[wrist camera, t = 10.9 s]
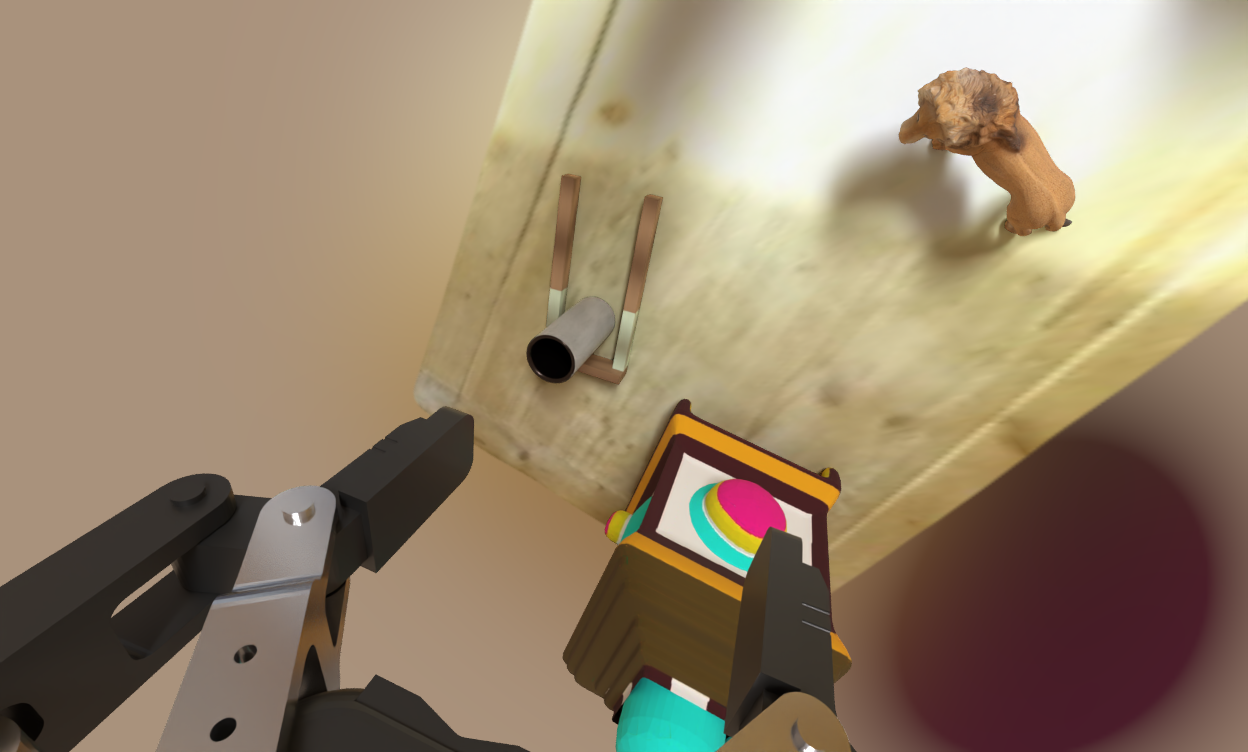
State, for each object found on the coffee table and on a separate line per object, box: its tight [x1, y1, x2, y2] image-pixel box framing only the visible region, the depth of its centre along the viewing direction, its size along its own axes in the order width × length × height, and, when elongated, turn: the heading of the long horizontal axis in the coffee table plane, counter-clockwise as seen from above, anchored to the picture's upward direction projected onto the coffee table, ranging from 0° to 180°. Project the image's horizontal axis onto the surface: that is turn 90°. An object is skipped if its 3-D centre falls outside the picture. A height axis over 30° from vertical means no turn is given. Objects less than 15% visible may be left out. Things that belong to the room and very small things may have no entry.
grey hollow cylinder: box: [527, 297, 615, 383], centre depth 45 cm, size 4×4×10 cm
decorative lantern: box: [563, 399, 852, 752], centre depth 41 cm, size 20×20×30 cm
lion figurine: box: [899, 68, 1075, 236], centre depth 30 cm, size 15×5×9 cm, turn 57°
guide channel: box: [546, 174, 663, 384], centre depth 46 cm, size 18×9×2 cm, turn 169°
